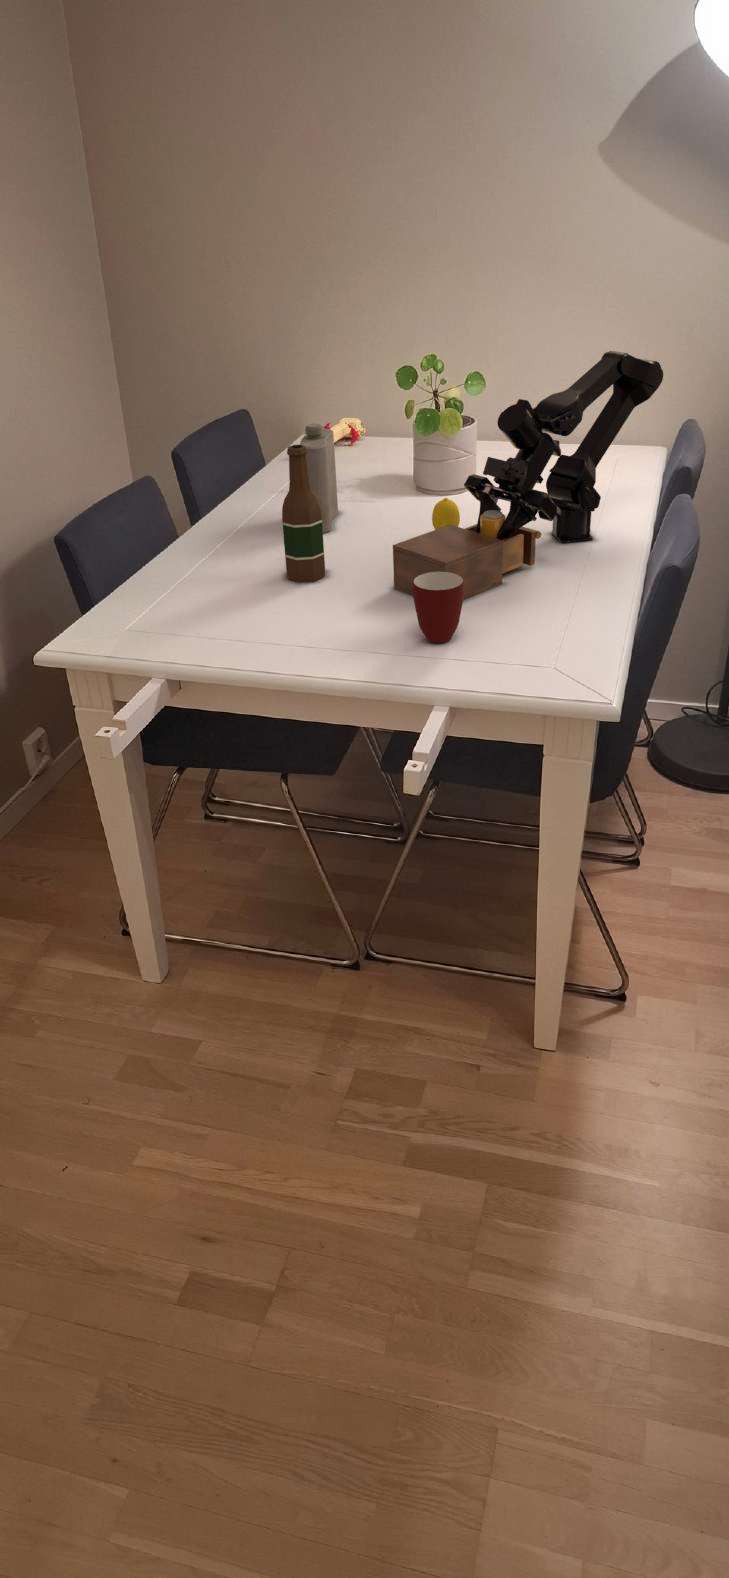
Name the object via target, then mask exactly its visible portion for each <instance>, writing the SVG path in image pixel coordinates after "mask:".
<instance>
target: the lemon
mask: <svg viewBox="0 0 729 1578" xmlns="http://www.w3.org/2000/svg"><path fill="white" fill-rule="evenodd" d="M460 521H461V513H460V510H459V507H458V505H457V503H456V502H454V501H453V500H451V499H449V498H448V497H444V498H443V499H441V500H439V501H438V502H436V504H435V505H434V507H433V510H432V514H431V522H432V527H433V529H434V530H437V529H439V528H442V527H445V526H448V525H453V526H457V527H460V526H459V525H460Z"/></svg>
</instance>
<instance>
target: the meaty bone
mask: <svg viewBox="0 0 729 1578" xmlns="http://www.w3.org/2000/svg"><path fill="white" fill-rule="evenodd" d="M332 423H333V421H330V422H328V423H326V424H325V425H323V429H330V430H332V431H333V434H334V444H335V443H336V442H337V441H339V440H341V439H343V438H351V440H350V443H348V446H351V445H353V444H354V443H356V441H358V439H359V438H360V437H362V435H364V434H365V433H366V431H367V430H366V428H364V427H362V426H363V422H362V420H361V419H360V418H357V417H343V418H342V419H340V420H339V421H338V422H337V423H338V424H334V425H333V426H332V427H330V424H332Z"/></svg>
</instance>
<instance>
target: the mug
mask: <svg viewBox="0 0 729 1578" xmlns="http://www.w3.org/2000/svg"><path fill="white" fill-rule="evenodd" d="M412 596H413V603H414V607H415V613H416V619H417V623H418V626H419V628H420V630H421V633H422V634H423V636H424V637H425V639H426V641H428V642H429V643H433V644H444V643H448V642H449V641H451V640H452V638H453V636H454V634H455V632H456V631H457V629H458V626H459V623H460V619H461V613H462V608H463V603H464V600H463V597H464V581H463V578H462V577H461V576H459V575H457V574H454V573H449V572H430V573H425V574H422V575H419V576H417V577H416V578H415V579H414V580H413V595H412Z"/></svg>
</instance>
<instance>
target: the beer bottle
mask: <svg viewBox="0 0 729 1578" xmlns="http://www.w3.org/2000/svg"><path fill="white" fill-rule="evenodd" d="M306 454H307V449H306V446H304V445H300V444H291V445H290V446H287V450H286V455H287V456H288V472H289V474H288V475H289V476H288V477H289V483H288V484H289V485H288V486H289V487H288V492H287V493H286V496H285V497H284V499H283V503H282V507H281V521H282V533H283V534H282V535H283V536H282V537H283V546H284V547H283V548H284V558H285V569H286V575H287V579H288V580H289V581H293V582H296V583H313V582H317V581H319V580H321V579H323V578H325V576H326V561H325V550H324V549H325V548H324V533H323V529H322V515H321V508H320V504H319V501H318V499H317V497H316V496H315V494H314V493H313V492H312V490H311V487H310V483H309V477H308V469H307V462H306Z"/></svg>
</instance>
